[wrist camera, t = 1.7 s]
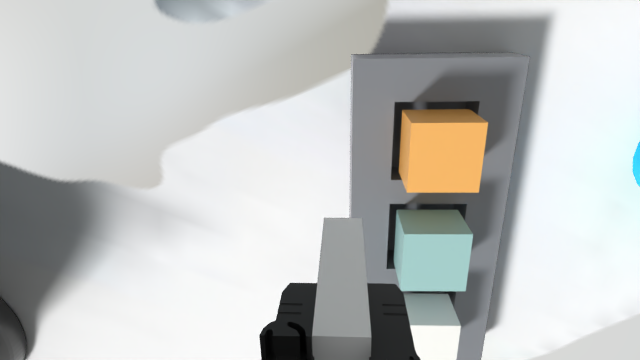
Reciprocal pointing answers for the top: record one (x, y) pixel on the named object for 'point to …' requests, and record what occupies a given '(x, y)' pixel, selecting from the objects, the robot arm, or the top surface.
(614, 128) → the top surface
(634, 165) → the mug
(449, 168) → the button orange
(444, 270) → the button teal
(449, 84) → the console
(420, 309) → the button white
